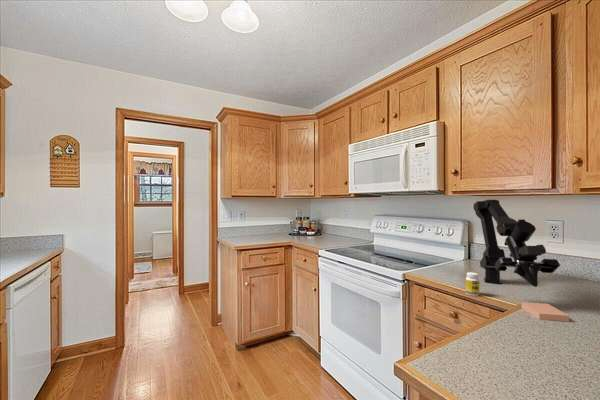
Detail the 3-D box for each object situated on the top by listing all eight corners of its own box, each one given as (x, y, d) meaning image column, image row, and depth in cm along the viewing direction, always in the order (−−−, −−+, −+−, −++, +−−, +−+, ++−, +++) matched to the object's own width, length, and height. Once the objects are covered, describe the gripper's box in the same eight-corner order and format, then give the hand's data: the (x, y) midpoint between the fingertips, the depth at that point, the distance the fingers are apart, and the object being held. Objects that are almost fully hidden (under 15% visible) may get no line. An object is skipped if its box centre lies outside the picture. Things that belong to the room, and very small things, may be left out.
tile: (521, 302, 98) (539, 313, 88) (547, 303, 96) (568, 315, 87) (521, 308, 98) (539, 320, 88) (547, 310, 96) (568, 323, 87)
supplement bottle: (472, 296, 109) (472, 275, 109) (462, 292, 114) (462, 272, 114) (482, 295, 111) (482, 274, 111) (472, 291, 115) (472, 271, 115)
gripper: (498, 235, 104) (514, 273, 93) (556, 237, 100) (580, 276, 89) (488, 252, 111) (502, 288, 101) (542, 254, 107) (562, 291, 97)
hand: (535, 286), depth 97 cm, fingers closed
